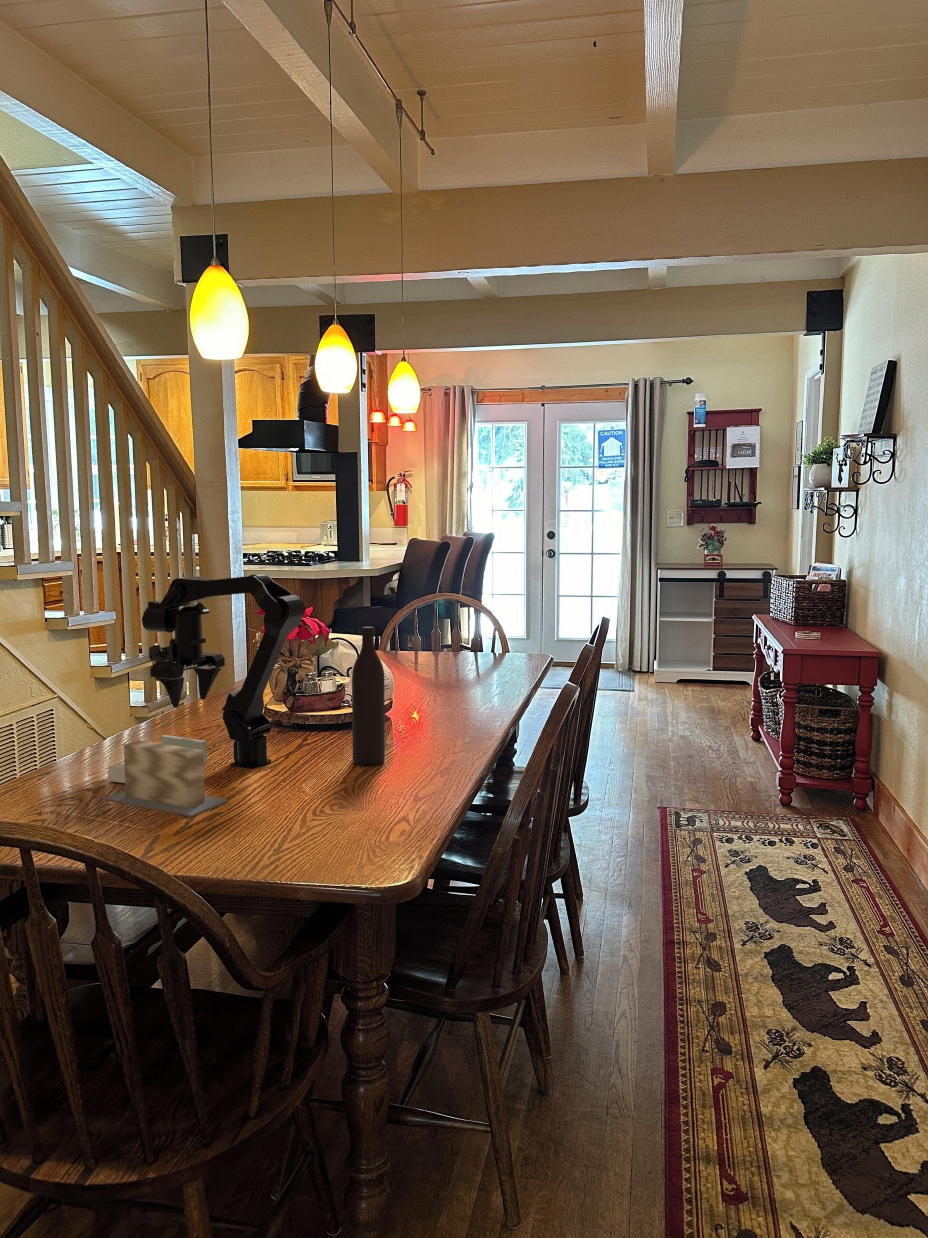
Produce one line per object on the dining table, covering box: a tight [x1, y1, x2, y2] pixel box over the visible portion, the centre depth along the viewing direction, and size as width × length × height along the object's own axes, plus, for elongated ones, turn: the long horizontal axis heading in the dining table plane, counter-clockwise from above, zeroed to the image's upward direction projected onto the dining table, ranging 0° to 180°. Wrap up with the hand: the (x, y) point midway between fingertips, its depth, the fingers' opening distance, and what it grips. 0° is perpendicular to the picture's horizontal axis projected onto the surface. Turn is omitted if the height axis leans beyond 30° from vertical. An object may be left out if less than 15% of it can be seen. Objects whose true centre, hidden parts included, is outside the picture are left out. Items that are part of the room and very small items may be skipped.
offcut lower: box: [107, 763, 125, 784], centre depth 187 cm, size 12×4×3 cm, turn 69°
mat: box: [101, 789, 229, 818], centre depth 176 cm, size 22×10×1 cm, turn 64°
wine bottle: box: [351, 626, 386, 767], centre depth 202 cm, size 7×7×30 cm
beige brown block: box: [123, 739, 206, 808], centre depth 175 cm, size 16×4×10 cm, turn 64°
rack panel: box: [160, 734, 208, 765], centre depth 204 cm, size 12×1×5 cm, turn 64°
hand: (189, 703), depth 206 cm, fingers open, 9 cm apart
